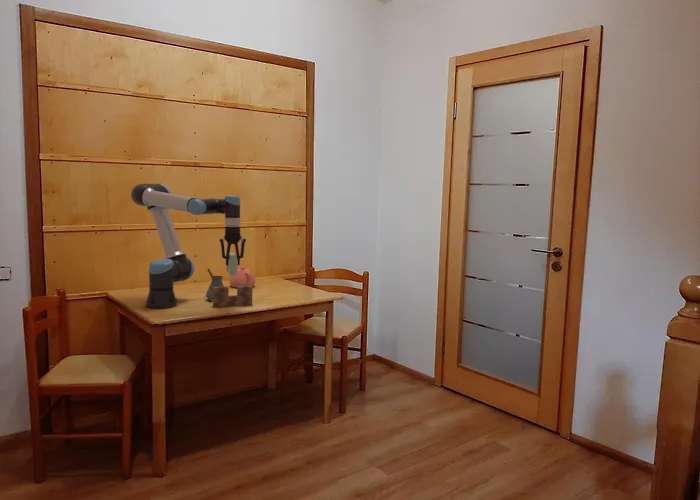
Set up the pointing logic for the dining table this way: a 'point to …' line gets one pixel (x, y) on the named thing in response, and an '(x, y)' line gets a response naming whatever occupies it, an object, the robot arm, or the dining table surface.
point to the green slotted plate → (232, 264)
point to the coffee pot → (214, 285)
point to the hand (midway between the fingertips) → (232, 271)
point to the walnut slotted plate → (224, 300)
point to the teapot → (242, 278)
